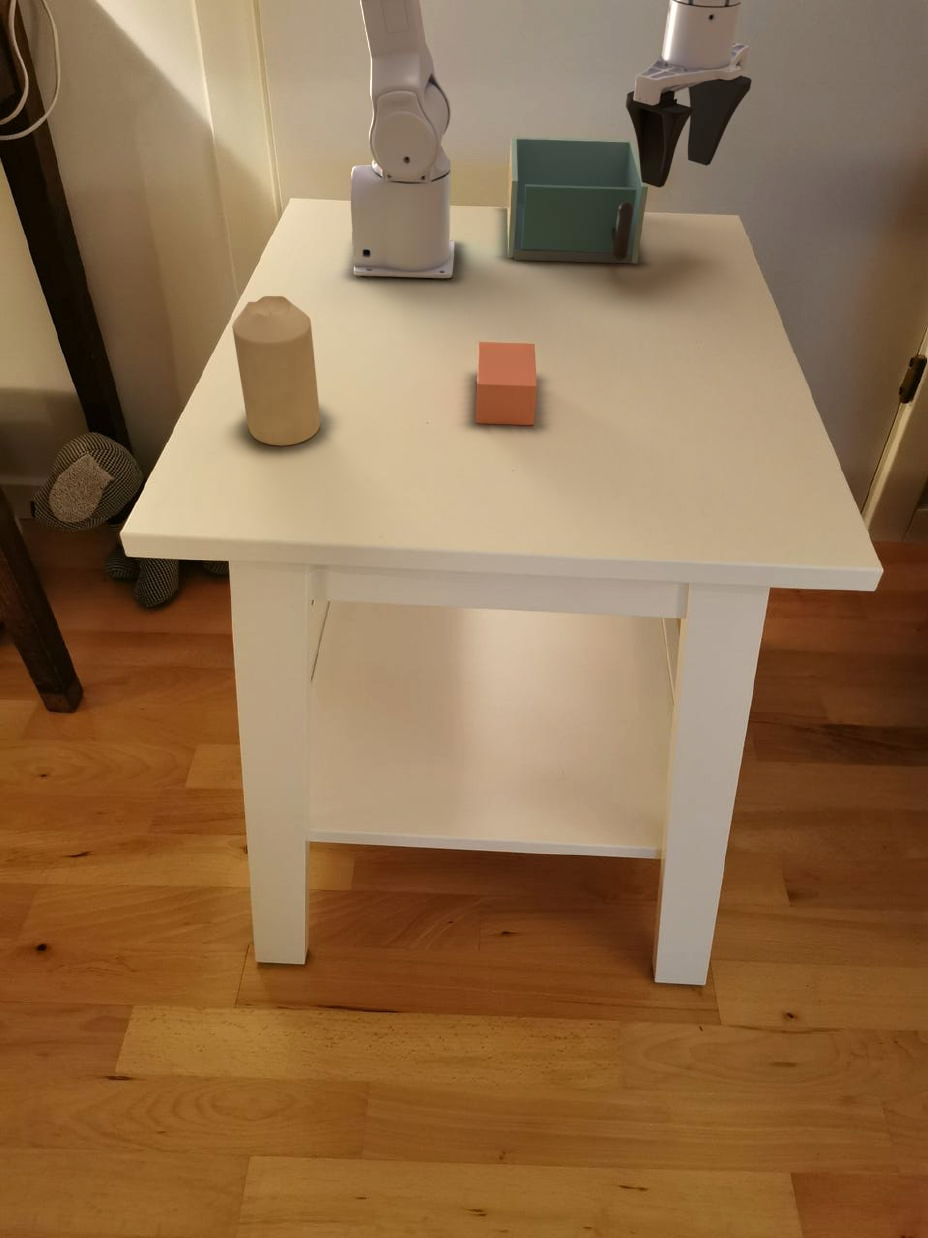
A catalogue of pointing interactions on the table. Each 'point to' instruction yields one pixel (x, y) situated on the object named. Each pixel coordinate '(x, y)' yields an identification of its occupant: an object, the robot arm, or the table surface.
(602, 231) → the shower door
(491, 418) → the soap
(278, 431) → the candle
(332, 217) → the table surface
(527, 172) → the shower
